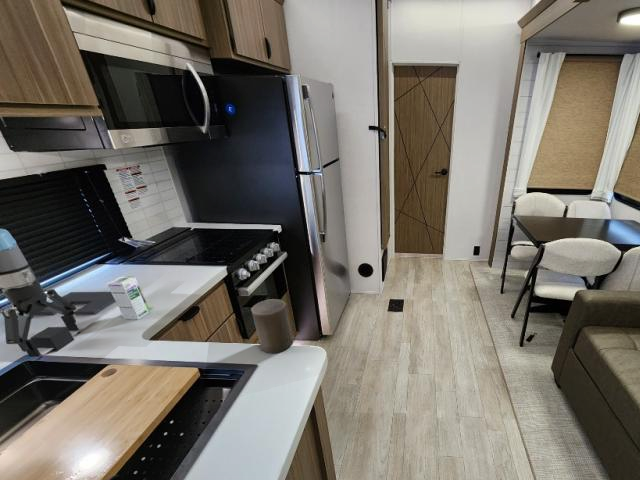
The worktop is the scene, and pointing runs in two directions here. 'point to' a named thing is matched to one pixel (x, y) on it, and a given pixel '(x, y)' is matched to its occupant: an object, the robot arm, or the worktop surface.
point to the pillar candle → (272, 325)
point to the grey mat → (85, 302)
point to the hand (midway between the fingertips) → (57, 344)
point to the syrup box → (129, 297)
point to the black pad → (53, 338)
